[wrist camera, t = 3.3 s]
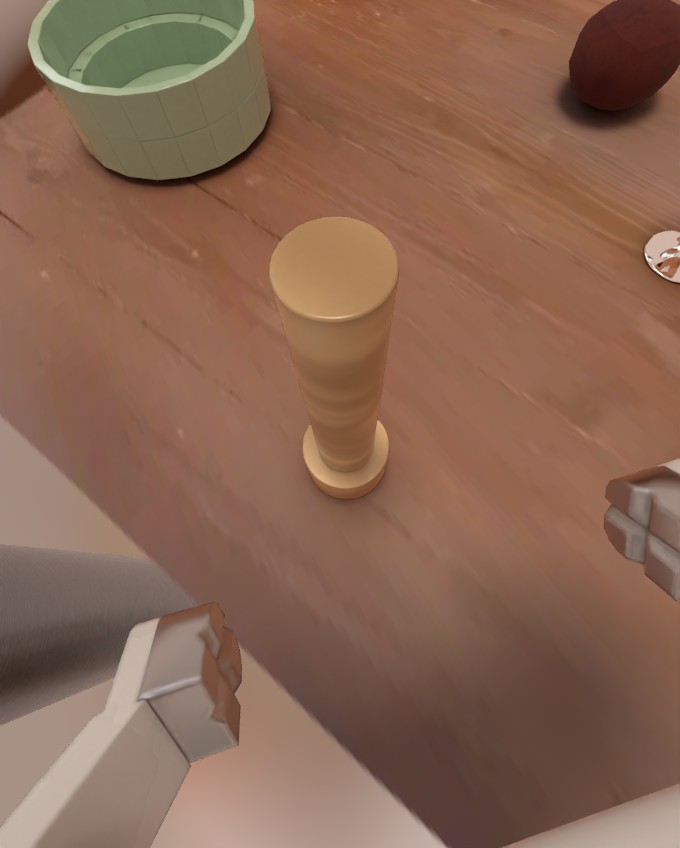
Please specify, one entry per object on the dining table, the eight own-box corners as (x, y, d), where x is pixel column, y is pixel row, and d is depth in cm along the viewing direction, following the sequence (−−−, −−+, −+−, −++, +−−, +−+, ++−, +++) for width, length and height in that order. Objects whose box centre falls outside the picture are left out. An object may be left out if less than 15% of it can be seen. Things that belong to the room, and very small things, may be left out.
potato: (538, 75, 35) (573, -22, 29) (633, 61, 35) (686, -38, 29) (569, 135, 32) (614, 42, 27) (671, 120, 33) (738, 24, 27)
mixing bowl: (154, 218, 31) (104, 130, 25) (52, 119, 35) (-12, 22, 29) (309, 117, 34) (300, 16, 28) (199, 37, 38) (170, -66, 32)
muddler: (344, 516, 23) (326, 398, 8) (292, 459, 24) (190, 263, 9) (401, 462, 24) (481, 266, 9) (348, 411, 25) (339, 159, 10)
